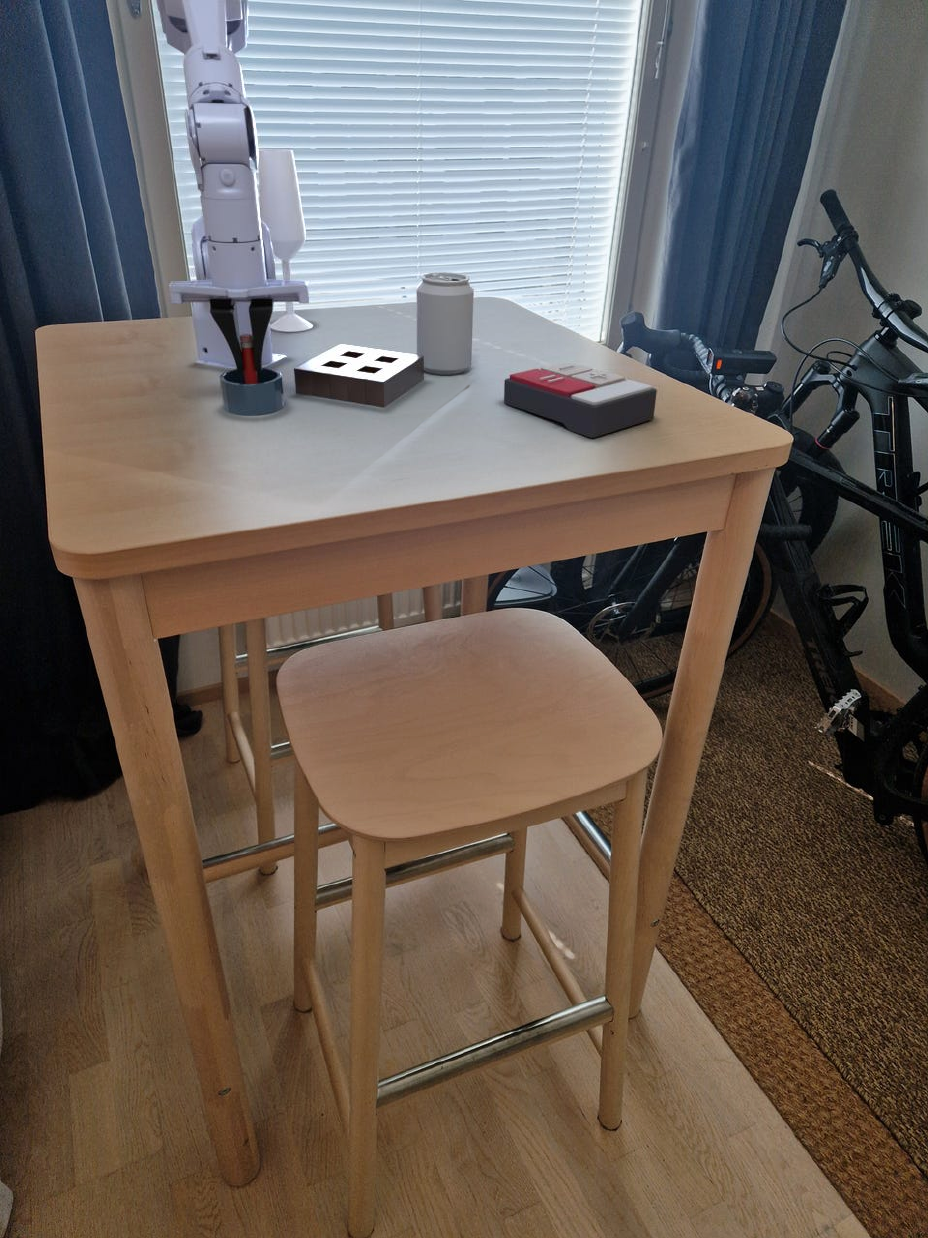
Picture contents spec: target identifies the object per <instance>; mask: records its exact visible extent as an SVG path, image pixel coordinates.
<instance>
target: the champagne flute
mask: <svg viewBox="0 0 928 1238" xmlns="http://www.w3.org/2000/svg"><path fill="white" fill-rule="evenodd" d="M258 191H259V193H258V195H259V196H258V202H259V213H260V220H261V221H263V222H264V223H265V224H266V225H267V228H268V229H269V231H270V239H271V243H272V248H273V254H274V257H276V258H278V259H279V260H281V267H282V268H281V269H282V280H287V281H292V274H291V262H290V260H292V259H293V258H294V257H295V256H296V255H297V254H298V252H299V251H300V250H301V249H302V248H303V246H304V244H305V242H306V240H307V231H306V224H305V219H304V213H303V212H304V211H303V207H302V206H303V205H302V199H301V194H300V187H299V179H298V174H297V168H296V163H295V155H294V150H292V149H286V148H260V149H258ZM284 303H285V314H284V315H282V316H281V317H280V318H278V319H277V320H276V321H274V322H273V323H271V324H270V330H273V331H277V332H287V333H292V332H293V333H294V332H303V331H308V330H310V329H312V328H314V326H313V324H312V323H310V322H309V321H308V320H306V319H304V318H302V317H301V316H299V315H298V314H296V313H295V309H294V302H284Z"/></svg>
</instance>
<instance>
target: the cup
mask: <svg viewBox="0 0 928 1238" xmlns="http://www.w3.org/2000/svg"><path fill="white" fill-rule="evenodd" d="M257 380H258V383H257V384H245V376H244V371H237V368H236V369H228V370H226V371H224V372H222V373H221V374H220V375H219V383H220V392H221V399H222V405H223V409H224V411H226V412H227V413H229V414H231V415H237V416H242V417H259V416H266V415H271V414H274V413H277V412H280V411H281V410H283V409H284V407H285V394H284V386H283V385H284V384H283V376H282V373H281V372H280V371H279V370H277V369H275V368H271V367H262V371H257Z"/></svg>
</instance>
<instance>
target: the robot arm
mask: <svg viewBox="0 0 928 1238" xmlns="http://www.w3.org/2000/svg"><path fill="white" fill-rule="evenodd" d="M155 1H156V6H157V10H158V12H159V17H160V23H161V28H162V33H164V35H165V39H166V44H167V45H169V46H171V47H172V48H174V49H175V50H177V51H179V52H180V53H182V54H183V55H184V58H183V63H182V67H183V74H184V83H185V92H186V100H187V107H188V109H187V108H185V109H184V110H185V111H184V121H185V130H186V137H187V144H188V150H189V156H190V161H191V163H192V166H193V170H194V173H195V179H196V185H197V190H199V192H200V197H199V198H200V205H201V212H202V213H201V214H202V215H201V216H200V217H199V218H198V219H197V220H196V221H195V222H194V223H193V224H192V229H191V230H190V232H191V233H190V234H191V241H192V243H191V249H192V257H193V265H194V272H195V277H196V280H182V281H180V280H177V281H174V280H173V281H171V282H169V285H168V290H169V296H170V302H171V304H172V305H182V304H184V303H193V307H192V321H193V328H194V334H195V340H196V347H197V355H198V360H196V361H195V363H196V364H199V365H206V366H212V367H218V368H224V369H225V368H226V369H229V370H232V369H236V368H237V371H244V365H243V358H242V351H241V344H240V335H243V334H250V335H252V337H253V345H254V365H255V371H262V367H265V368H268V367H270V366H271V365H274V364H276V363H277V362H279V361H282V360H284V359H286V358H287V356H286V355H285V354H279V353H273V352H274V350H273V341H272V331H271V328H270V325H271V323H270V321H271V318H272V315H273V311H274V305H275V303H285V302H293V303H299V304H310V295H309V294H310V291H309V281H307V280H291V281H287V280H283V279H277V274H276V263H275V255H274V254H273V248H272V243H271V239H270V231H269V229H268V228H267V225H266V224H265V223H264V222H263V221H261V220H260V202H259V196H258V195H259V193H258V185H257V175H256V174H257V173H256V172H255V171H254V170H253V169H252V168H251V162H250V159H251V161H253V165H254V168H255V170H256V171H257V170H258V168H259V145H258V143H259V142H258V135H257V134H258V133H257V125H256V120H255V115H254V112H253V108H252V106H251V103H250V101H249V97H248V96H246V91H245V85H244V78H243V72H242V71H243V70H242V66H241V63H240V60H239V59H238V56H236V54H238V53H239V52H241V51H242V50H245V49H246V48H247V46H248V45H247V38H248V37H249V19H248V17H249V0H155Z"/></svg>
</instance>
